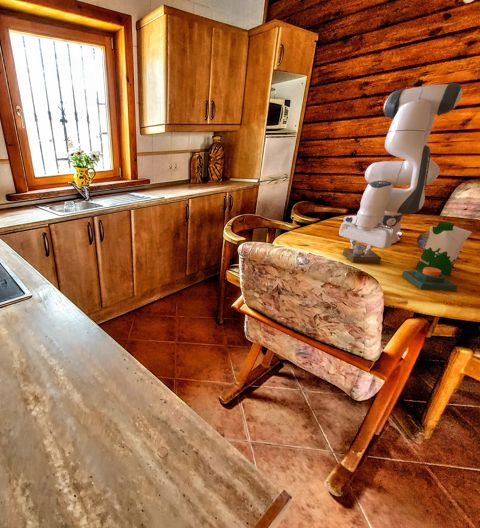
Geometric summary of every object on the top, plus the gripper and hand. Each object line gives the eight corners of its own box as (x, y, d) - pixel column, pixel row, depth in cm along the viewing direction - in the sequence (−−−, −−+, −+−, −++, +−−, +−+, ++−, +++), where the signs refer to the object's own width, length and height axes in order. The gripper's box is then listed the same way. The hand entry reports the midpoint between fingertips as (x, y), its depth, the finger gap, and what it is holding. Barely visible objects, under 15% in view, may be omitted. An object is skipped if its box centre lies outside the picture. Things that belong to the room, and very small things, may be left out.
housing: (401, 275, 109) (404, 266, 107) (432, 277, 107) (436, 268, 105) (420, 289, 99) (424, 279, 98) (455, 291, 97) (460, 281, 95)
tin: (413, 245, 136) (420, 229, 132) (419, 245, 136) (426, 228, 132) (448, 257, 122) (457, 239, 118) (455, 256, 122) (463, 238, 119)
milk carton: (411, 266, 115) (429, 220, 107) (437, 267, 114) (457, 220, 105) (427, 276, 108) (448, 226, 99) (455, 277, 106) (479, 226, 98)
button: (419, 271, 104) (421, 266, 103) (433, 272, 103) (435, 267, 102) (427, 276, 100) (429, 271, 99) (442, 277, 99) (444, 272, 98)
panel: (339, 254, 131) (341, 247, 130) (367, 255, 128) (369, 248, 127) (350, 262, 122) (352, 256, 121) (380, 264, 119) (382, 257, 118)
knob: (350, 252, 125) (353, 243, 123) (358, 251, 125) (360, 242, 124) (358, 255, 121) (361, 246, 119) (366, 254, 122) (369, 245, 120)
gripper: (401, 226, 109) (390, 258, 114) (351, 214, 127) (343, 243, 132) (389, 228, 107) (378, 260, 113) (340, 216, 126) (333, 245, 131)
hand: (359, 251), depth 123 cm, fingers closed on knob, 4 cm apart
